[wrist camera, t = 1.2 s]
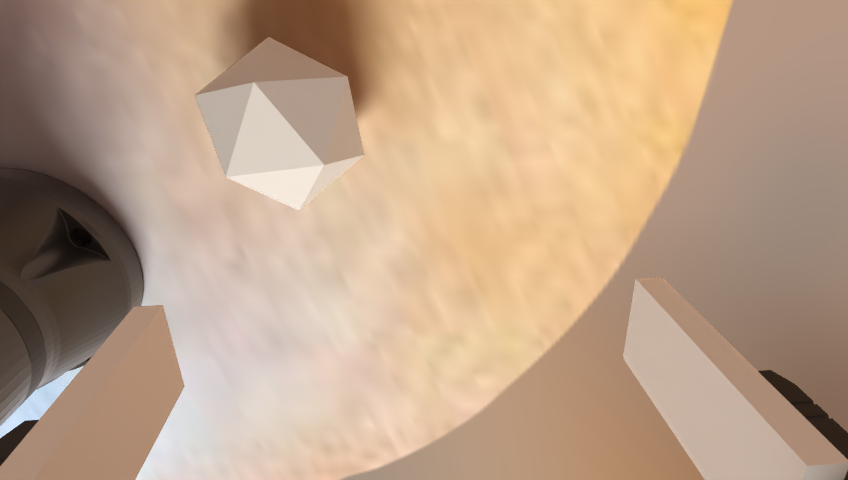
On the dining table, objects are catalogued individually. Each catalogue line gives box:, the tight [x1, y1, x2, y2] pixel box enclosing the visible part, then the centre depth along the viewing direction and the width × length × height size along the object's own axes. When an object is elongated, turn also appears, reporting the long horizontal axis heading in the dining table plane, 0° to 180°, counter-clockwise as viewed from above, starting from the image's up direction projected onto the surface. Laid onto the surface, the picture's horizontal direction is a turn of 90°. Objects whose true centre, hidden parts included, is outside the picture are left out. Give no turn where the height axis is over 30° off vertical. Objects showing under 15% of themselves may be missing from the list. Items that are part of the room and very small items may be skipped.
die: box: [195, 37, 364, 210], centre depth 31 cm, size 8×9×10 cm
